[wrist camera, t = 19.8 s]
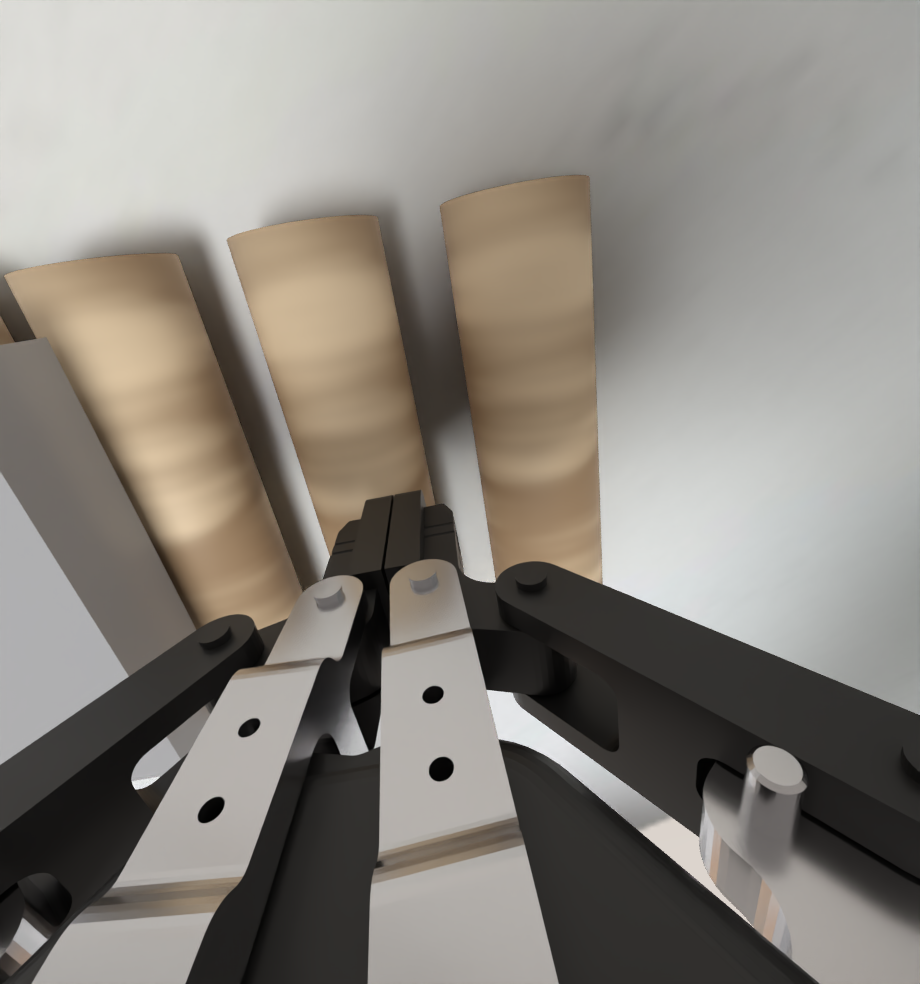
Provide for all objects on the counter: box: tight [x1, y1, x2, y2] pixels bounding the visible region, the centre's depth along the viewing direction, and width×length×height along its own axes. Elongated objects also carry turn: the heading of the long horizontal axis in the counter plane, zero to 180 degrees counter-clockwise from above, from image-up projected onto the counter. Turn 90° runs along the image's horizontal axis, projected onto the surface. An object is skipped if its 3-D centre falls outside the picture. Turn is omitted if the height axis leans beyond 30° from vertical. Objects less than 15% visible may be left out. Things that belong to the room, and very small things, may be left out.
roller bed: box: [0, 175, 602, 630], centre depth 16 cm, size 15×30×4 cm, turn 99°
